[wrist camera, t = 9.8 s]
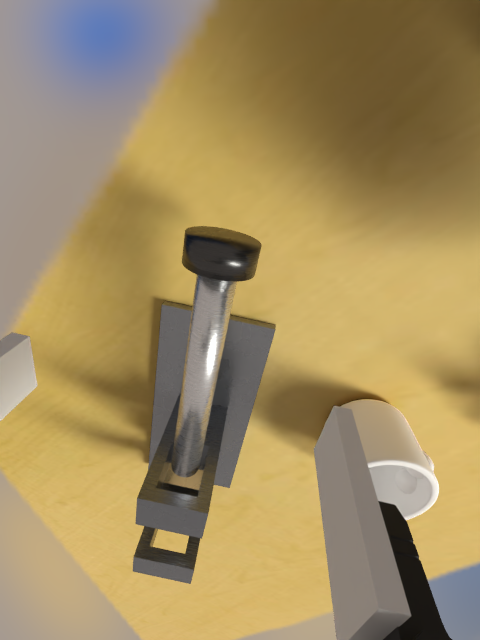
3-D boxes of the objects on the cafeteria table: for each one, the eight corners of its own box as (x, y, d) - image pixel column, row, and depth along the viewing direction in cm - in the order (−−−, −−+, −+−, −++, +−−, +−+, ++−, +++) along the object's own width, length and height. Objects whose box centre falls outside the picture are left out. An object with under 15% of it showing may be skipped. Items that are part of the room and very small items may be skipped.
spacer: (176, 422, 40) (162, 459, 35) (220, 432, 40) (212, 470, 35) (173, 443, 42) (159, 481, 37) (215, 453, 42) (207, 492, 37)
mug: (386, 469, 41) (413, 544, 33) (309, 455, 42) (317, 527, 34) (423, 401, 36) (465, 472, 28) (333, 386, 36) (350, 452, 28)
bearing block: (164, 300, 33) (101, 383, 21) (275, 324, 33) (275, 421, 21) (150, 464, 46) (105, 574, 34) (230, 481, 46) (214, 597, 34)
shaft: (194, 222, 22) (175, 237, 18) (262, 237, 22) (259, 256, 18) (168, 439, 33) (152, 482, 29) (214, 448, 33) (204, 493, 29)
